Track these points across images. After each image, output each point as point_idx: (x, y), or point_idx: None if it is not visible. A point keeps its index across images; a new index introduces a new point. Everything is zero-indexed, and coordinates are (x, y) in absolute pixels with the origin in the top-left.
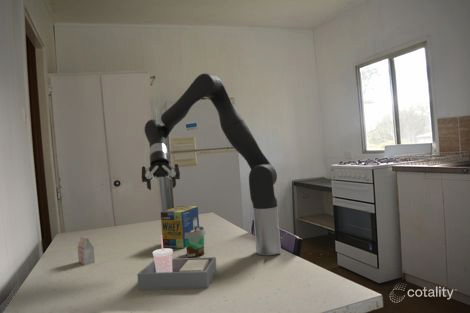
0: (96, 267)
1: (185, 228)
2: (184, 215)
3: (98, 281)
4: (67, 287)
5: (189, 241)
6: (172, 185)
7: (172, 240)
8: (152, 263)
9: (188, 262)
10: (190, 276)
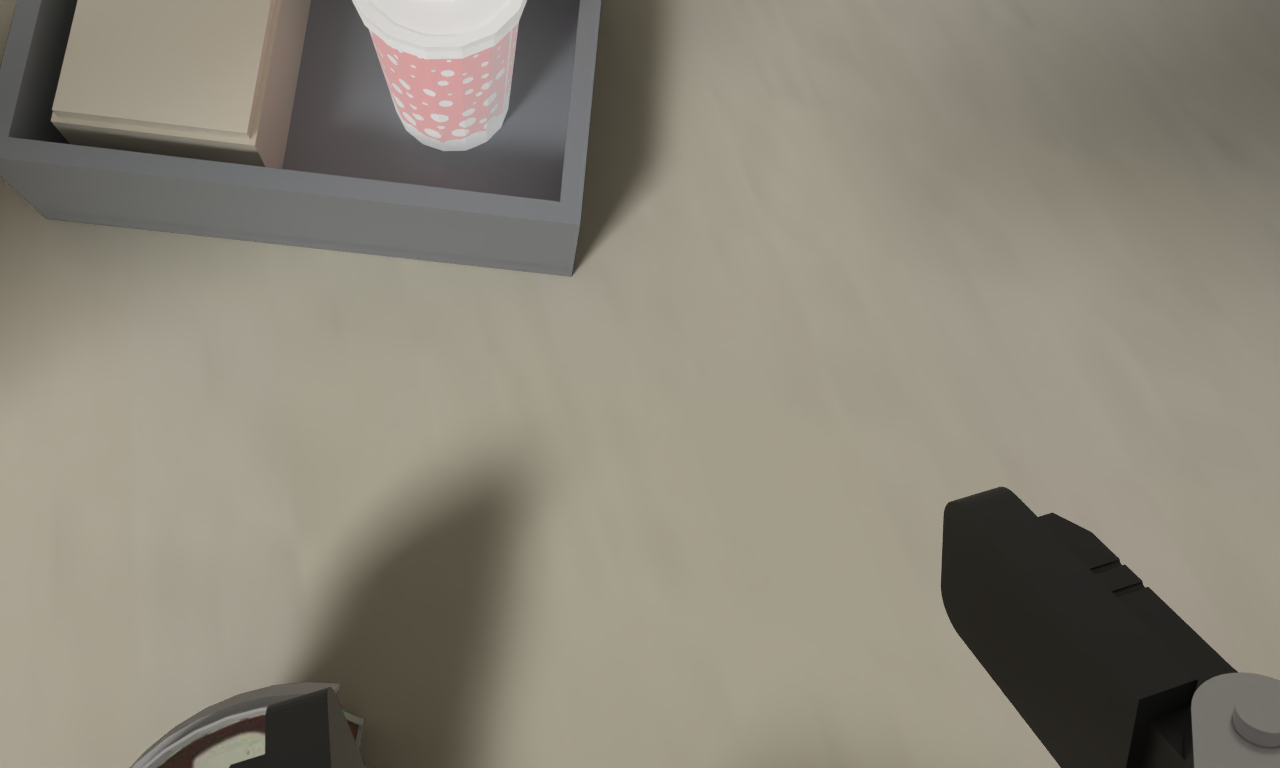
0: (1202, 591)
1: None
2: None
3: (994, 243)
4: (1161, 169)
5: None
6: (349, 749)
7: None
8: (567, 128)
9: (235, 67)
10: None
